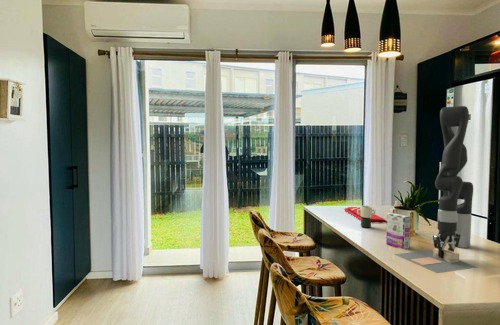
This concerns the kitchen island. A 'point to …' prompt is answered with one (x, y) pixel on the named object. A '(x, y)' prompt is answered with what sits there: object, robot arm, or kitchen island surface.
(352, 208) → the dish drying mat
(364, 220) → the character mug
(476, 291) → the kitchen island surface
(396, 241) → the candy bar box
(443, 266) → the rubber mat
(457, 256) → the maple deck block
